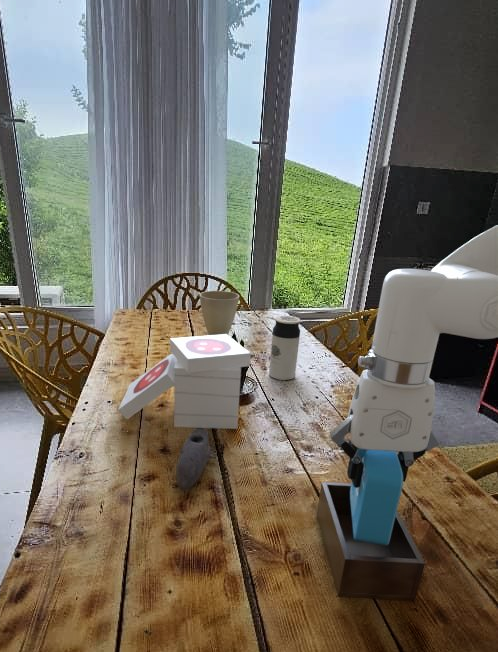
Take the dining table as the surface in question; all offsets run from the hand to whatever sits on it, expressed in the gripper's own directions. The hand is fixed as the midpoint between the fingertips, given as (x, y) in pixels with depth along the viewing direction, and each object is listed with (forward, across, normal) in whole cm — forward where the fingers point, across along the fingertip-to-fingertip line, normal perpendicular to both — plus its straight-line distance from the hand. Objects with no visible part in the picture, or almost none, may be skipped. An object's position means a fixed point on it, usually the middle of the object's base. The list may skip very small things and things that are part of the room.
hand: (374, 482), depth 64 cm
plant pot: (+14, -26, +110) cm, 114 cm away
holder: (+13, 0, 0) cm, 13 cm away
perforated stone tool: (+14, -28, +18) cm, 36 cm away
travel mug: (+13, -5, +72) cm, 73 cm away
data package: (+7, 0, 0) cm, 7 cm away
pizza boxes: (+14, -32, +44) cm, 56 cm away
